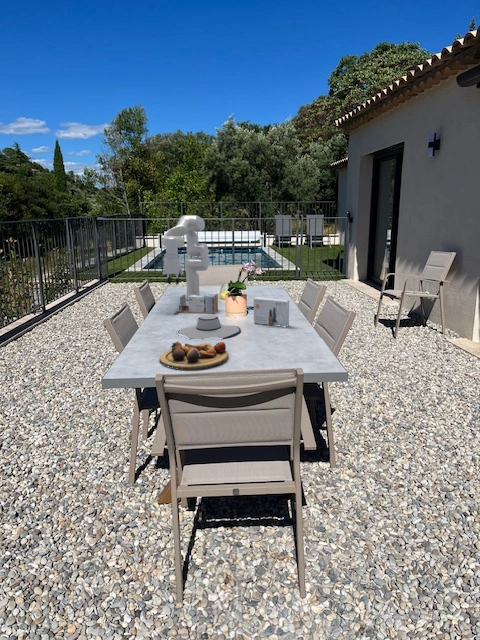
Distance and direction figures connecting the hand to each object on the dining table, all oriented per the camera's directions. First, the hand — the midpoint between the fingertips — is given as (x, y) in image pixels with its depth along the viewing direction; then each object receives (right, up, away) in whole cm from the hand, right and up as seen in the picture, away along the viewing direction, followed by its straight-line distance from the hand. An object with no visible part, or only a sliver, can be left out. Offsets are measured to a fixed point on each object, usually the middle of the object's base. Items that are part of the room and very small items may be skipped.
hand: (173, 283), depth 296 cm
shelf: (+15, -19, +3) cm, 24 cm away
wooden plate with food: (+23, -43, -86) cm, 99 cm away
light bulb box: (+16, -18, +2) cm, 24 cm away
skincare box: (+63, -27, -29) cm, 74 cm away
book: (+25, -18, +1) cm, 31 cm away
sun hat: (+26, -31, -41) cm, 58 cm away
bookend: (+5, -18, +4) cm, 19 cm away
